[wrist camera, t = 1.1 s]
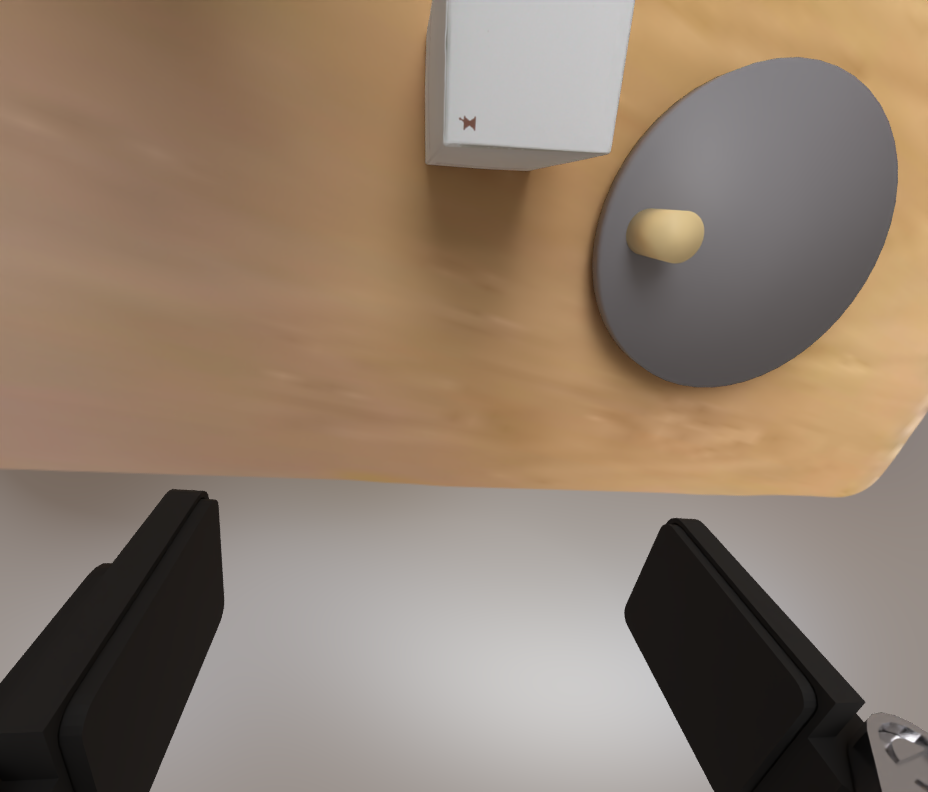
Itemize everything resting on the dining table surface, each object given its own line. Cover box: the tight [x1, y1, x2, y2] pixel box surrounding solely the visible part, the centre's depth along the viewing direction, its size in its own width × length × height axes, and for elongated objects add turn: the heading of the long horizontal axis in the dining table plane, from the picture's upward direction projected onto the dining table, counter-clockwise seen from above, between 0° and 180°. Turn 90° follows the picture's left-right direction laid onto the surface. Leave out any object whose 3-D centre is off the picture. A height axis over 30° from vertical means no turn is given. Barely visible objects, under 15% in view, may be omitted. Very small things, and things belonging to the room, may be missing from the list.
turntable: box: [592, 57, 898, 387], centre depth 30 cm, size 22×22×6 cm
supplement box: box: [425, 0, 635, 171], centre depth 22 cm, size 7×7×13 cm
